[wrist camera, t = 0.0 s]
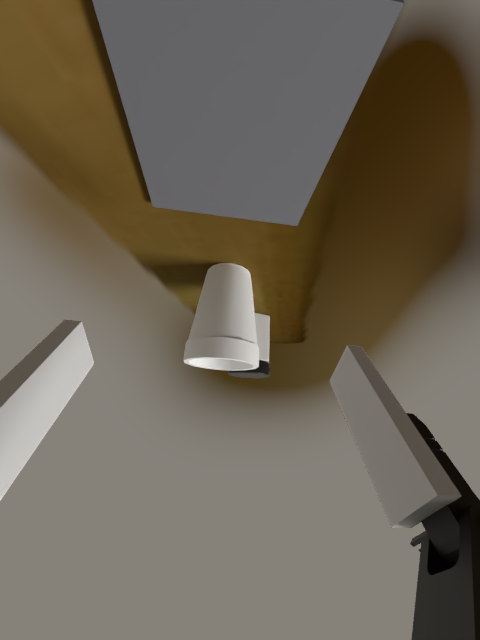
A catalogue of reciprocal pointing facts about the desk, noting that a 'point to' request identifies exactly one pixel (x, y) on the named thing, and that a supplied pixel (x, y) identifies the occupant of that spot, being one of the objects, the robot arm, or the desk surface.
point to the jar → (263, 344)
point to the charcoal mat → (240, 95)
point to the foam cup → (224, 322)
